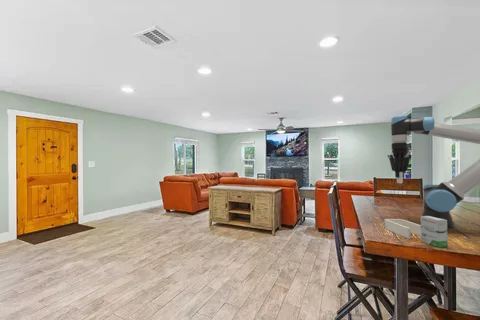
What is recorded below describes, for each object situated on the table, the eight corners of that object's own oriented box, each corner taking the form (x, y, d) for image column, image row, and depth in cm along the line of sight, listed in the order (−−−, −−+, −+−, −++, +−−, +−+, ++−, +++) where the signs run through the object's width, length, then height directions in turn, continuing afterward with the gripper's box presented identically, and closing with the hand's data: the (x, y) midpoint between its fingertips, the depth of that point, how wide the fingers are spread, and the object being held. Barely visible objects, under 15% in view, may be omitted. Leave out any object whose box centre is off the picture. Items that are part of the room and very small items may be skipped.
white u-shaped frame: (401, 227, 129) (401, 218, 129) (428, 238, 112) (428, 227, 112) (384, 228, 129) (384, 219, 129) (408, 238, 111) (408, 228, 111)
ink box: (448, 247, 100) (448, 219, 100) (439, 248, 99) (438, 220, 99) (429, 240, 109) (428, 215, 109) (420, 241, 108) (419, 215, 108)
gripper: (405, 143, 138) (405, 182, 138) (384, 143, 138) (384, 182, 138) (415, 142, 131) (415, 183, 131) (392, 142, 130) (393, 184, 130)
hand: (399, 183), depth 134 cm, fingers closed
